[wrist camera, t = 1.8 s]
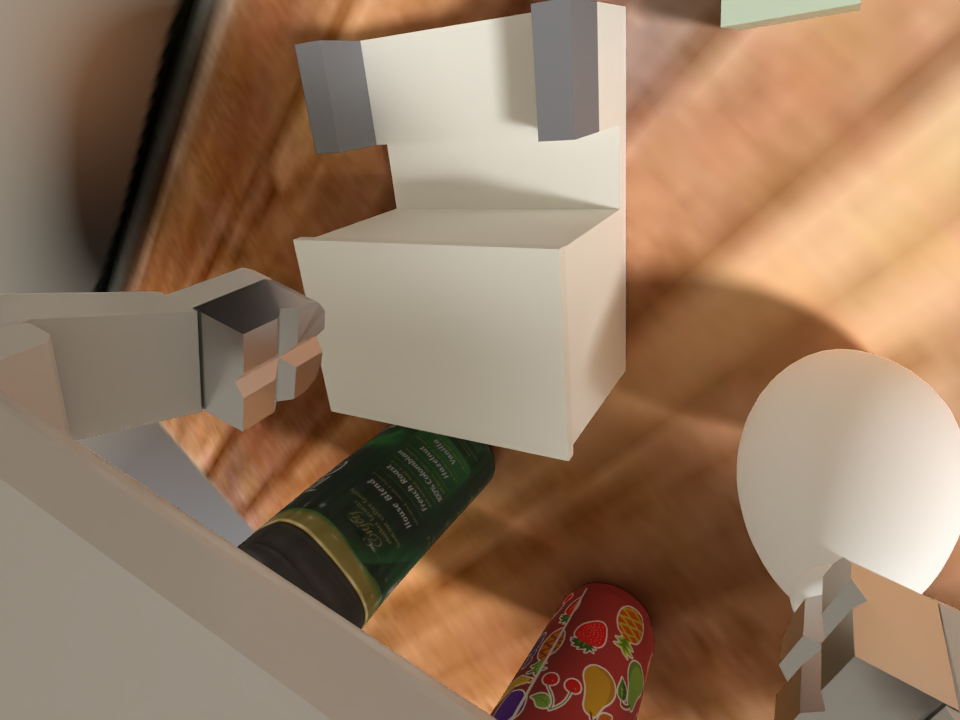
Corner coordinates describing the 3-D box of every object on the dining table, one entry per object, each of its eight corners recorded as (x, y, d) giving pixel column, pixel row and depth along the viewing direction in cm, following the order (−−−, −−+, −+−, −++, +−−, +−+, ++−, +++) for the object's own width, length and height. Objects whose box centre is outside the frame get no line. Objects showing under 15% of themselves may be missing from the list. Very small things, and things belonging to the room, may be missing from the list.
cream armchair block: (630, 6, 28) (547, -9, 20) (629, 373, 36) (568, 461, 28) (380, 45, 35) (249, 44, 27) (424, 346, 42) (331, 411, 35)
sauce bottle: (987, 364, 27) (1130, 712, 13) (877, 484, 31) (894, 842, 17) (811, 287, 29) (769, 512, 15) (731, 409, 33) (641, 672, 19)
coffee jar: (445, 377, 43) (233, 547, 28) (516, 465, 43) (342, 680, 28) (375, 434, 49) (171, 598, 34) (438, 511, 49) (261, 708, 34)
